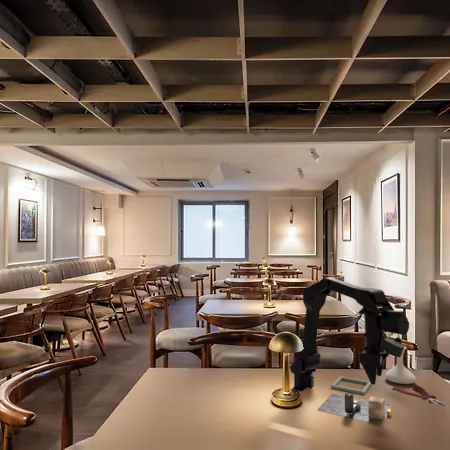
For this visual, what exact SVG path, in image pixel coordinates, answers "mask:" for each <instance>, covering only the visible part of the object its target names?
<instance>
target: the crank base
mask: <svg viewBox="0 0 450 450" xmlns="http://www.w3.org/2000/svg"><path fill="white" fill-rule="evenodd" d="M353 399H357V400H359V401H361V408H360V409H356V410H355V411H354V413H353V414H347V413H346V412H345V394H338V393H331V394H330V396H329V397H327V399H326V400H325V401H324V402H323V403H322V404H321V405H320V406H319V407H318V408H317V410H316V411H318V412H322V413H326V414H332V415H335V416H339V417H344V418H349V419H353V420H358V421H362V422H366V423H369V424H375V425H379V426H383V425H384V423H385V420H386V419H387V417H389V418H391V417H392V406H393V404H387V403H384V404H385V415H384V417H383V419H382V420H381V419H377V418H372V417H369V410H368V400H369V399H368V400H367V399H363V398H358V397H354V396H353Z"/></svg>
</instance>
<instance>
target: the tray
mask: <svg viewBox="0 0 450 450" xmlns="http://www.w3.org/2000/svg"><path fill="white" fill-rule="evenodd" d="M341 382H347V383H351V384H358V385H363V386H364V387H363V389H362V390H361V389H357V388H350V387H346V386H340V385H339V384H340V383H341ZM372 386H373V384H371V382H370V380H369V381H368V380H364V379H363V380H362V379H358V378H353V377H352V378H351V377H347V376H343V375H342V376H341V375H340V376H339V377H338V378H336V380H335V381H333V383H332V384H331V385H330V389H331V390H332V389H333V390H337V391H342V392H346V393H351V394H352V393H353V394H358V395H362V396H365V394H366V393H367V392H368V390H369V389H370V388H371V387H372Z"/></svg>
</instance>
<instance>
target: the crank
mask: <svg viewBox="0 0 450 450" xmlns="http://www.w3.org/2000/svg"><path fill="white" fill-rule="evenodd" d="M344 396H345V412H346V413H347V414H353V413H354V411H355V410H356V409H360V408H361V401H359V400H357V399H353V397H354V393H353V394H352V393H351V392H345V393H344Z"/></svg>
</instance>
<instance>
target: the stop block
mask: <svg viewBox="0 0 450 450" xmlns="http://www.w3.org/2000/svg"><path fill="white" fill-rule="evenodd" d="M385 404H386V403H385V398H382V397H377V396H370V397H369V399H368V410H369V417H372V418H377V419H381V420H382V419H383V417H384V415H385Z"/></svg>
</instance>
